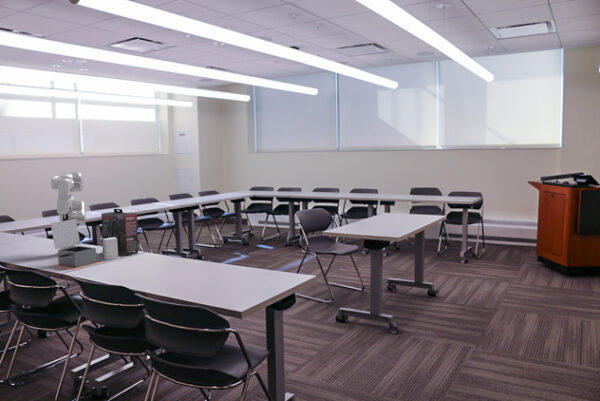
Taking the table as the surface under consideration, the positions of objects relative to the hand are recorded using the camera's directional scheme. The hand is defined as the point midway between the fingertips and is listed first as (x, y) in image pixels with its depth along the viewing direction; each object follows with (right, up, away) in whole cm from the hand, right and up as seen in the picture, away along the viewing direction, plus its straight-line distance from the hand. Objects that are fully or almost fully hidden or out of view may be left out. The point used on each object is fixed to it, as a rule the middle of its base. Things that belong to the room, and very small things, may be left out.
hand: (65, 223), depth 326 cm
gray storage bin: (+14, -26, -12) cm, 32 cm away
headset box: (+28, -23, +26) cm, 44 cm away
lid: (+5, -6, -10) cm, 13 cm away
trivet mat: (+14, -26, -12) cm, 32 cm away
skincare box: (+29, -25, +5) cm, 39 cm away
